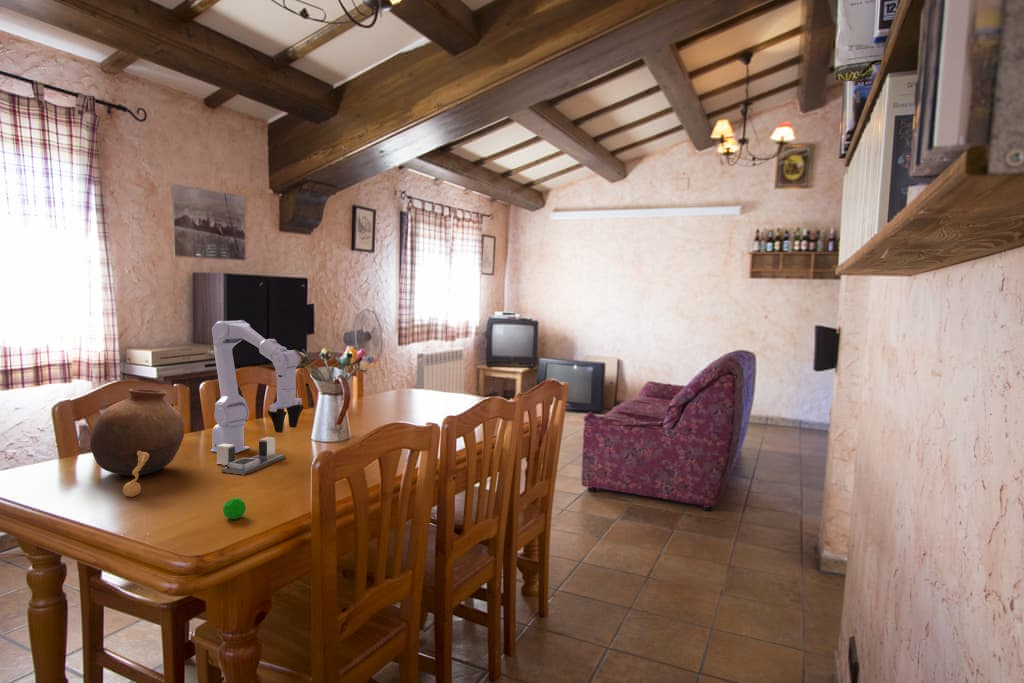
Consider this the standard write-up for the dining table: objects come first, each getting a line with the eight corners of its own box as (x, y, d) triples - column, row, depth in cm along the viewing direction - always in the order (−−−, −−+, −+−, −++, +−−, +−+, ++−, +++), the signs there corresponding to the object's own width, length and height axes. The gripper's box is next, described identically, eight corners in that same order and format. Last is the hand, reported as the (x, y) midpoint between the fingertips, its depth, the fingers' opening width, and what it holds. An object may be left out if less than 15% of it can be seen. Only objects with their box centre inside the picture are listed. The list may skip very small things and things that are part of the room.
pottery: (73, 483, 165) (70, 394, 163) (129, 460, 188) (127, 381, 186) (154, 487, 165) (152, 397, 163) (200, 463, 188) (199, 384, 186)
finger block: (223, 462, 190) (223, 443, 189) (235, 463, 189) (235, 444, 188) (216, 464, 187) (216, 445, 187) (229, 466, 186) (228, 447, 186)
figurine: (124, 492, 160) (123, 448, 159) (150, 489, 162) (150, 446, 161) (121, 502, 152) (120, 456, 151) (149, 499, 155) (148, 453, 154)
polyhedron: (235, 523, 141) (235, 503, 141) (218, 520, 143) (218, 501, 142) (250, 516, 146) (250, 496, 146) (233, 513, 147) (233, 494, 147)
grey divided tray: (221, 472, 179) (221, 449, 179) (264, 455, 198) (264, 434, 198) (244, 475, 177) (244, 452, 177) (285, 457, 197) (285, 436, 196)
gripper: (283, 392, 185) (283, 435, 186) (310, 385, 199) (309, 426, 200) (263, 390, 187) (263, 433, 188) (291, 384, 201) (290, 424, 202)
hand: (286, 429), depth 194 cm, fingers open, 7 cm apart
